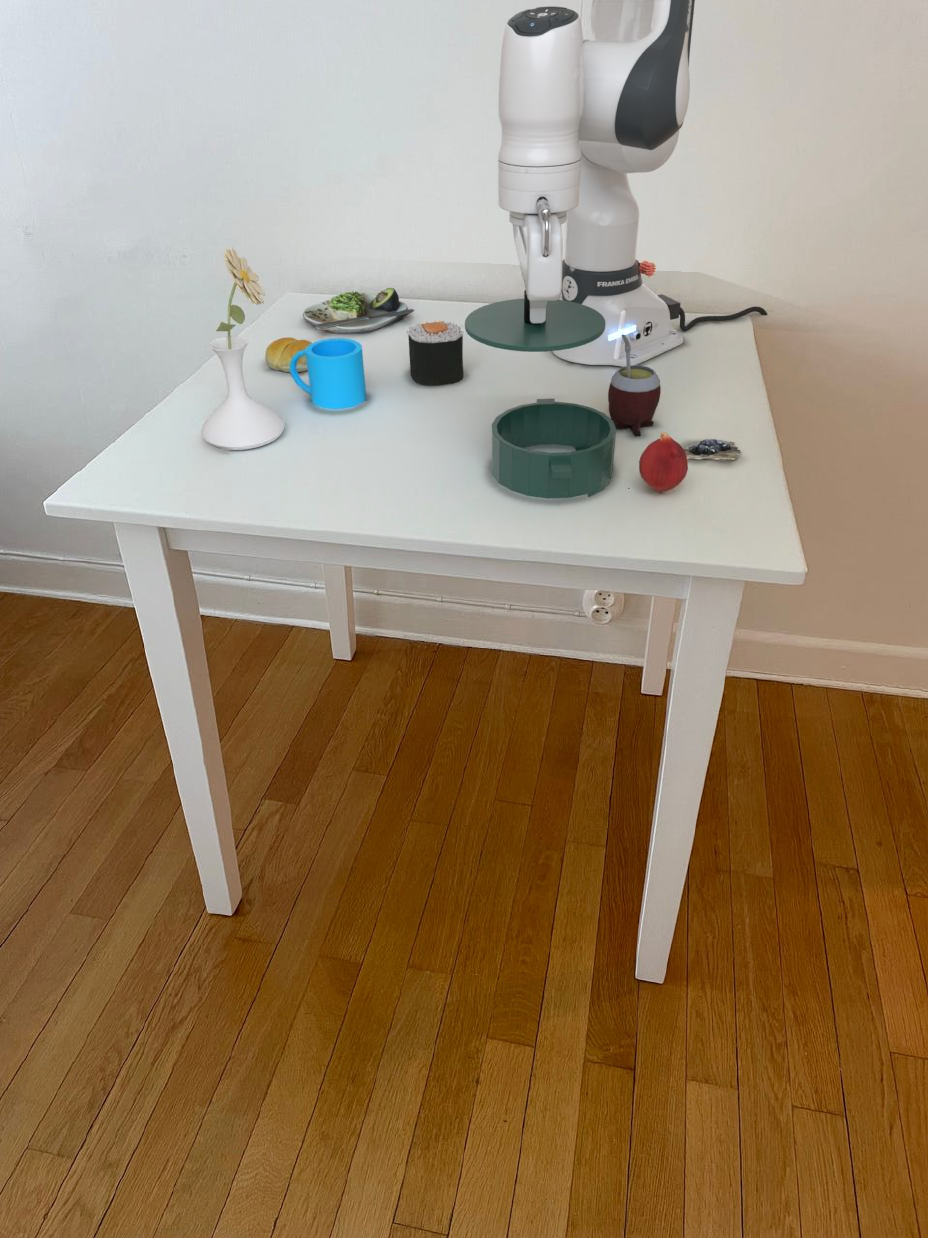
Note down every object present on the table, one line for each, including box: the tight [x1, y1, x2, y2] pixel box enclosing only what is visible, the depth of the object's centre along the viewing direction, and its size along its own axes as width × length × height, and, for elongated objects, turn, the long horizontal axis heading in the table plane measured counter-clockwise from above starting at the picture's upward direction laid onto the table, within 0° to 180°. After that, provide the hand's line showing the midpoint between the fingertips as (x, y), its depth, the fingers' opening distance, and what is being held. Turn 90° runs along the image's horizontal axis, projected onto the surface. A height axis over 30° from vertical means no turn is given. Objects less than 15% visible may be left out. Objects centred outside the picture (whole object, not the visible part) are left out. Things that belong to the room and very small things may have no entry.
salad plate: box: [302, 287, 415, 334], centre depth 169 cm, size 19×18×5 cm
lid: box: [464, 289, 606, 353], centre depth 110 cm, size 16×16×5 cm
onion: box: [638, 431, 689, 494], centre depth 116 cm, size 6×6×8 cm
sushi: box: [406, 320, 464, 387], centre depth 147 cm, size 8×8×8 cm
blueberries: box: [682, 438, 742, 463], centre depth 125 cm, size 7×8×2 cm
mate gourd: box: [607, 334, 662, 437], centre depth 128 cm, size 8×8×15 cm
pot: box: [491, 397, 617, 499], centre depth 121 cm, size 15×21×6 cm
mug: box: [289, 337, 367, 410], centre depth 140 cm, size 12×8×8 cm
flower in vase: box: [200, 246, 286, 451], centre depth 126 cm, size 13×11×25 cm
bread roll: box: [264, 337, 313, 373], centre depth 153 cm, size 8×9×4 cm
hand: (535, 315), depth 111 cm, fingers closed on lid, 2 cm apart
